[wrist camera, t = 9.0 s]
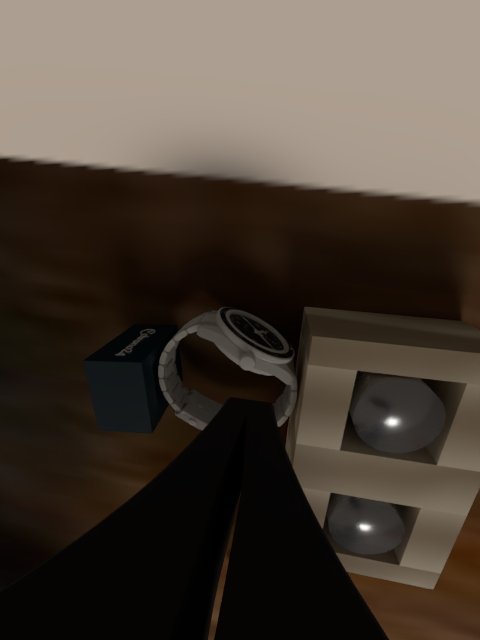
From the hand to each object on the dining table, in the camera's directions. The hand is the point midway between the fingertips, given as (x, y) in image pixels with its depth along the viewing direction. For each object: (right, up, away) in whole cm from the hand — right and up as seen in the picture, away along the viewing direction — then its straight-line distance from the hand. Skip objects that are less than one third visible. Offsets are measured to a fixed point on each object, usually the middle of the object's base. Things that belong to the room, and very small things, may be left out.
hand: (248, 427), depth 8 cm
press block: (+8, -3, +10) cm, 13 cm away
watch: (-8, 0, +9) cm, 12 cm away
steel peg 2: (+8, -7, +12) cm, 16 cm away
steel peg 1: (+8, 0, +9) cm, 12 cm away
